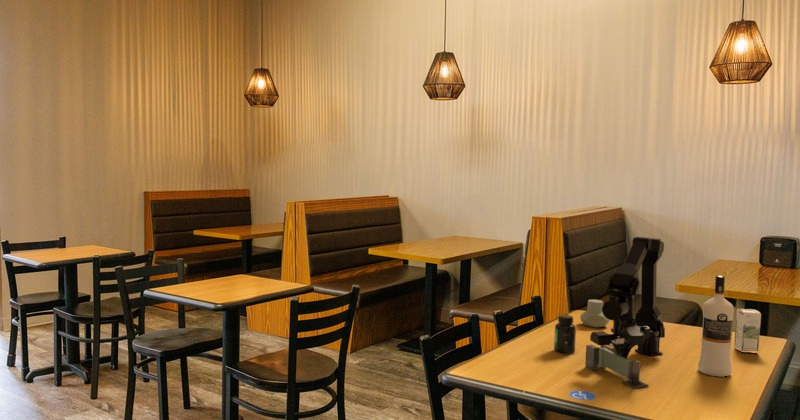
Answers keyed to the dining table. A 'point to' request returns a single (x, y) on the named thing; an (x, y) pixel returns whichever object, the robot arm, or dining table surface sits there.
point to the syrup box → (747, 329)
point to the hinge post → (635, 377)
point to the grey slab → (615, 362)
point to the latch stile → (592, 357)
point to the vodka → (716, 333)
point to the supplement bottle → (565, 335)
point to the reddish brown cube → (609, 347)
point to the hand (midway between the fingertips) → (622, 364)
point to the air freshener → (594, 314)
